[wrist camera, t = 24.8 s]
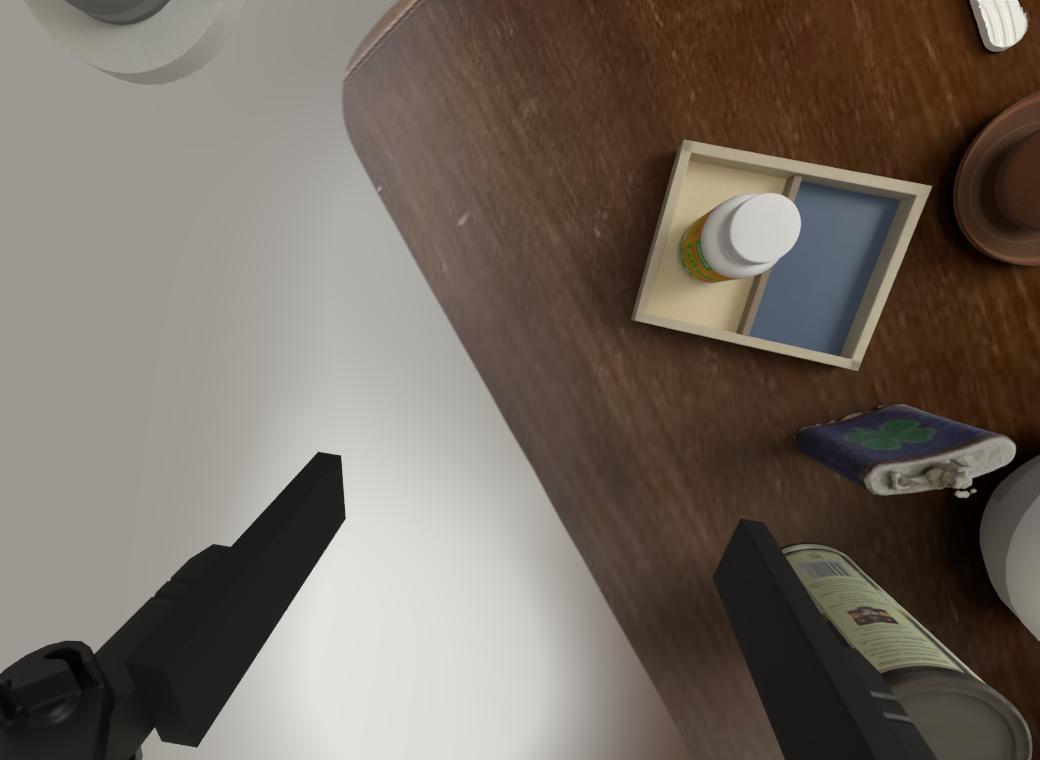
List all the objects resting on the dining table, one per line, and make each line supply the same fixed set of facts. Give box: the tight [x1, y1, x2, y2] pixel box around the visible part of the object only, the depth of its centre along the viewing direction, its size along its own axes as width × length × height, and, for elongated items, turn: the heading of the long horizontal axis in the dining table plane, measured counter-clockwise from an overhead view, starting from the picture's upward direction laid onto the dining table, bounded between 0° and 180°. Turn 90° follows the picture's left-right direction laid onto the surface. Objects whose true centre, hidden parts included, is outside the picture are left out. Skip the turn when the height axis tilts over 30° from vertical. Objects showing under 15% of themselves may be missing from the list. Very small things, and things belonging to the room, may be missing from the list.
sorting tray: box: [631, 140, 932, 371], centre depth 33 cm, size 18×14×2 cm
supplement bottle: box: [679, 193, 801, 283], centre depth 29 cm, size 5×5×10 cm
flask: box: [793, 403, 1016, 498], centre depth 30 cm, size 9×3×11 cm, turn 110°
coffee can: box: [782, 544, 1032, 760], centre depth 32 cm, size 10×10×14 cm
